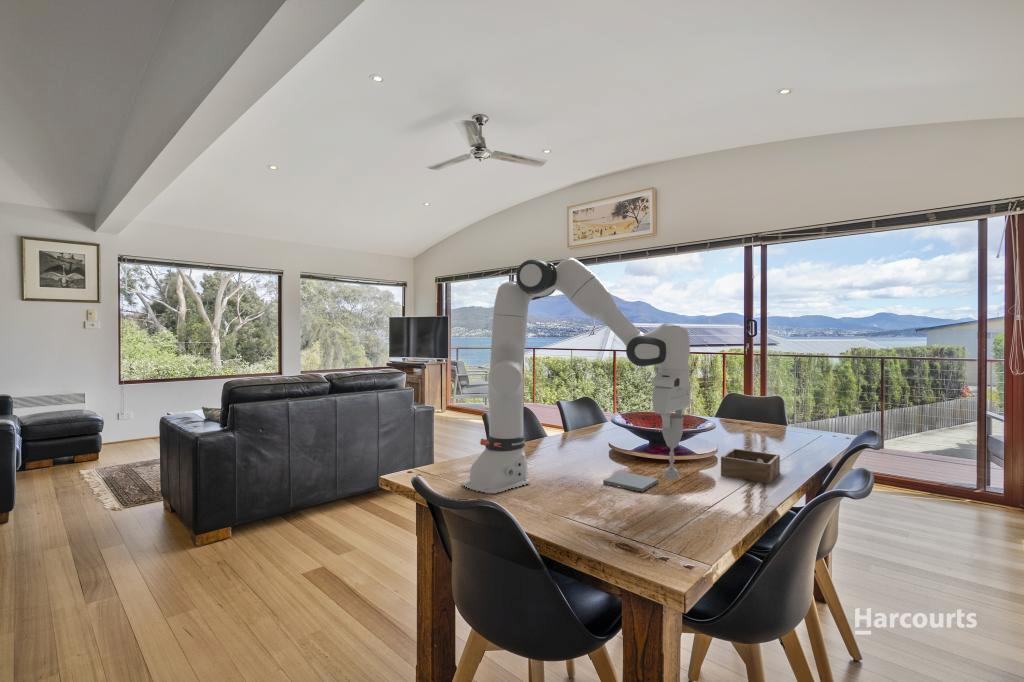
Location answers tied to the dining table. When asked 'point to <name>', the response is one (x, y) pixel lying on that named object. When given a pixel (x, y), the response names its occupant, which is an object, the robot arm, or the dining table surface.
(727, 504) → the dining table surface
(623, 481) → the slate board
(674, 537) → the dining table surface
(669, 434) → the chalice
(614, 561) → the dining table surface
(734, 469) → the walnut display box
